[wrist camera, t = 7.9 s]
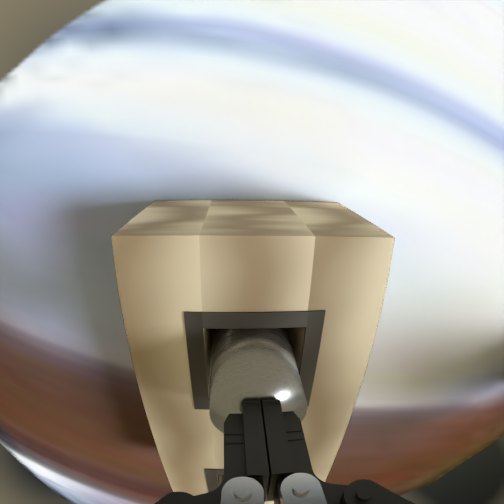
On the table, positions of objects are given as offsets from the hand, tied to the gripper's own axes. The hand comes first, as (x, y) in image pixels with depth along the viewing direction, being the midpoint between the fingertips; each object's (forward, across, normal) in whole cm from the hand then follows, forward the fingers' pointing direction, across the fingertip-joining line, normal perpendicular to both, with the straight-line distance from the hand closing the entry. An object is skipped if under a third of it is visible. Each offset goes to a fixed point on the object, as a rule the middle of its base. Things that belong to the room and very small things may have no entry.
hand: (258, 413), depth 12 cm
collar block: (+11, 0, +6) cm, 13 cm away
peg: (+8, 0, 0) cm, 8 cm away
